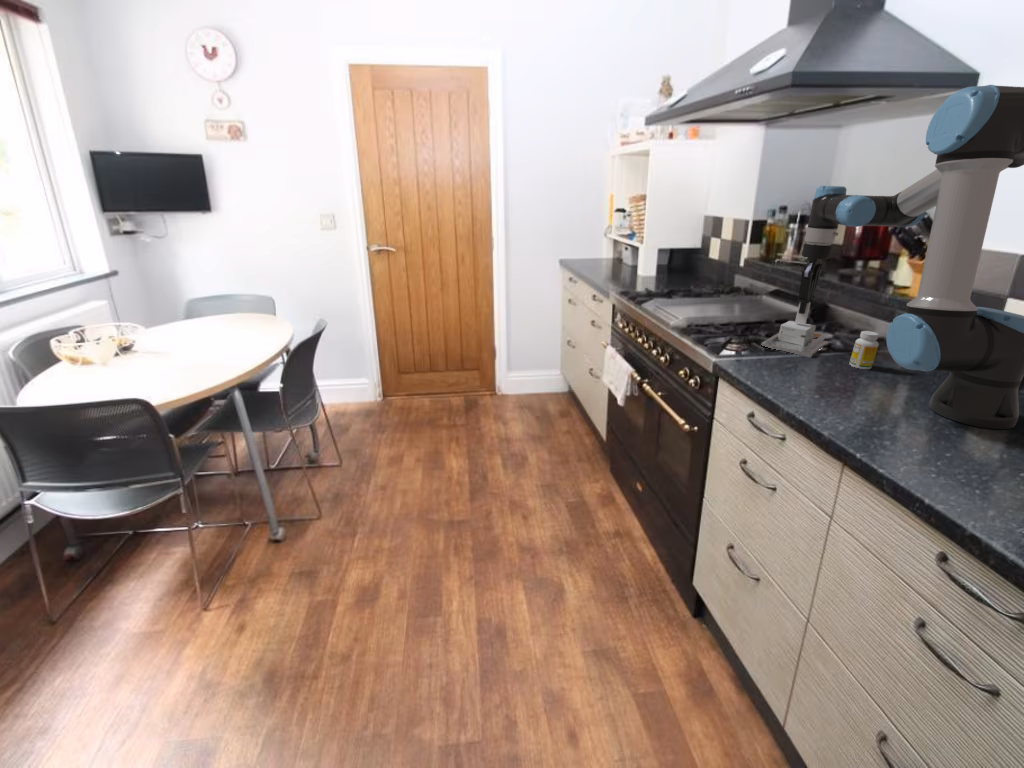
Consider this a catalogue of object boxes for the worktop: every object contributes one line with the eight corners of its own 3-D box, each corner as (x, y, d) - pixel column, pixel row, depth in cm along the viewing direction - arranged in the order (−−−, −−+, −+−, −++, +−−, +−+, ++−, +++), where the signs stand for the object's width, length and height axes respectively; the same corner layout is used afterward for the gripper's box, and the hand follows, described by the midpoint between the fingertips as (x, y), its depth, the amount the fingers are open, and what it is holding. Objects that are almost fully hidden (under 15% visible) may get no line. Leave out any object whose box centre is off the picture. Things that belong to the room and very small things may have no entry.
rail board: (810, 357, 154) (812, 349, 153) (760, 346, 162) (762, 339, 161) (828, 343, 168) (830, 335, 167) (781, 333, 176) (783, 326, 175)
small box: (776, 340, 165) (780, 324, 163) (786, 335, 170) (790, 320, 168) (803, 346, 160) (807, 329, 158) (812, 341, 165) (816, 325, 163)
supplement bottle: (845, 365, 148) (854, 332, 144) (853, 361, 151) (862, 328, 148) (867, 371, 144) (877, 336, 141) (874, 367, 147) (884, 333, 144)
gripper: (827, 246, 147) (807, 330, 155) (839, 242, 156) (819, 322, 165) (797, 243, 151) (780, 325, 160) (810, 240, 160) (793, 317, 169)
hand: (800, 323), depth 162 cm, fingers closed
